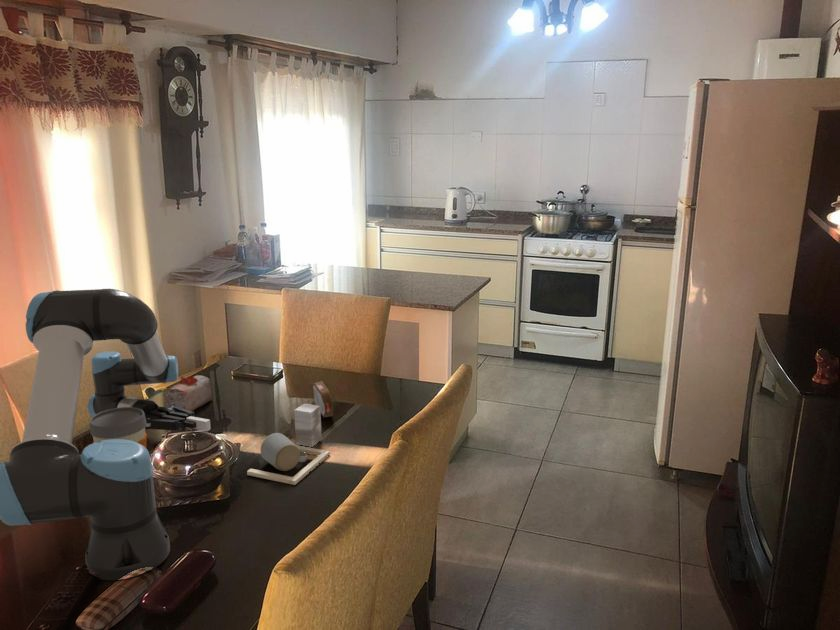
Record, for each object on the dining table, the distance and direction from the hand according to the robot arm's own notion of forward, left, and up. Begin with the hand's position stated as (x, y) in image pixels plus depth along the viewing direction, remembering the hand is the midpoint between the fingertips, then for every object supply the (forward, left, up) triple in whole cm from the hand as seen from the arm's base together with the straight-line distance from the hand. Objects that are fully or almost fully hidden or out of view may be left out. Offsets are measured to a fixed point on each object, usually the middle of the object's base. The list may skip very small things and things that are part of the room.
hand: (208, 425), depth 176 cm
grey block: (+13, -22, -7) cm, 27 cm away
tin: (+33, -15, -7) cm, 37 cm away
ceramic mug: (0, -23, -7) cm, 24 cm away
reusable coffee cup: (-19, +11, -7) cm, 23 cm away
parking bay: (0, -25, -7) cm, 25 cm away
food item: (+21, +24, -7) cm, 33 cm away
